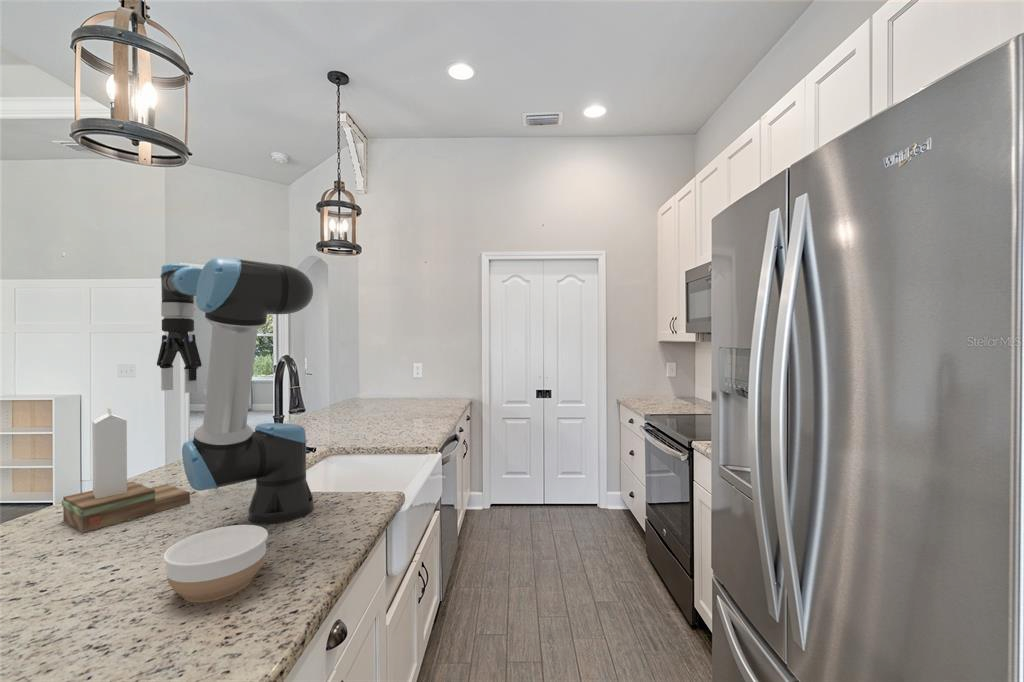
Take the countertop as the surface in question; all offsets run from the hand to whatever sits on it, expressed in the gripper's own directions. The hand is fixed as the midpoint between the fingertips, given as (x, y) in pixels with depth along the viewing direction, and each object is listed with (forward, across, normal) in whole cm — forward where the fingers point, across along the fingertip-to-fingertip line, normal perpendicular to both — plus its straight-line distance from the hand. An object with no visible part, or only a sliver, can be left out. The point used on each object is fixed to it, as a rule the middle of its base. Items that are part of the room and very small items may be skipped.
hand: (178, 391), depth 128 cm
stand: (+31, -1, +12) cm, 33 cm away
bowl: (+31, -60, +20) cm, 71 cm away
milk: (+25, -1, +16) cm, 30 cm away
